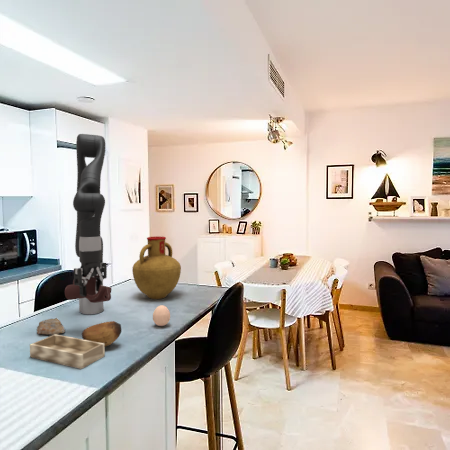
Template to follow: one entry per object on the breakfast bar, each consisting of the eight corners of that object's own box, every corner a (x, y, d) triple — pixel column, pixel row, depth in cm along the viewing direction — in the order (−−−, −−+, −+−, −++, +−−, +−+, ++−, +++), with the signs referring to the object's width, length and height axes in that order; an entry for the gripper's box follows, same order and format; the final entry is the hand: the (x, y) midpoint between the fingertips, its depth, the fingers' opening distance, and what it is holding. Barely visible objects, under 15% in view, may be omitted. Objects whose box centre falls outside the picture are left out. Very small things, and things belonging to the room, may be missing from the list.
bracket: (104, 299, 128) (105, 271, 132) (63, 305, 133) (65, 277, 136) (114, 301, 134) (115, 273, 137) (74, 306, 138) (76, 280, 141)
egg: (153, 329, 138) (153, 308, 138) (152, 323, 145) (151, 303, 144) (171, 327, 140) (171, 307, 139) (169, 322, 146) (169, 302, 146)
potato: (85, 357, 121) (88, 336, 128) (125, 347, 122) (126, 327, 128) (75, 344, 117) (79, 323, 123) (116, 333, 117) (118, 313, 123)
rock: (32, 333, 135) (42, 335, 128) (35, 317, 137) (45, 317, 130) (56, 333, 141) (67, 335, 134) (59, 317, 143) (69, 318, 136)
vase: (157, 289, 202) (157, 234, 200) (191, 295, 188) (190, 236, 186) (122, 298, 183) (121, 237, 181) (156, 306, 169) (155, 240, 167)
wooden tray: (30, 357, 114) (29, 344, 114) (55, 346, 123) (55, 334, 122) (81, 369, 106) (81, 355, 105) (104, 356, 114) (104, 343, 114)
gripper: (96, 245, 141) (97, 288, 142) (66, 250, 128) (68, 297, 129) (112, 246, 138) (113, 290, 139) (83, 252, 125) (84, 300, 126)
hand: (91, 293), depth 134 cm, fingers closed on bracket, 7 cm apart
